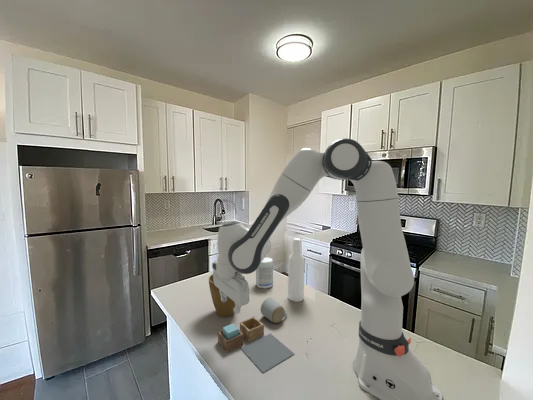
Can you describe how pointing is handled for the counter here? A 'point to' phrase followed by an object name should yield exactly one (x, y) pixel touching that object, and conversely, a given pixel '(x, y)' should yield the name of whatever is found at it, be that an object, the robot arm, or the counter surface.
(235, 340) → the brown wooden square tray
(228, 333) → the light blue block
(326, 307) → the counter surface
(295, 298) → the bottle
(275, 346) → the slate mat
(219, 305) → the plant pot
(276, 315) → the ceramic mug
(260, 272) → the supplement tub
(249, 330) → the light wooden open box
